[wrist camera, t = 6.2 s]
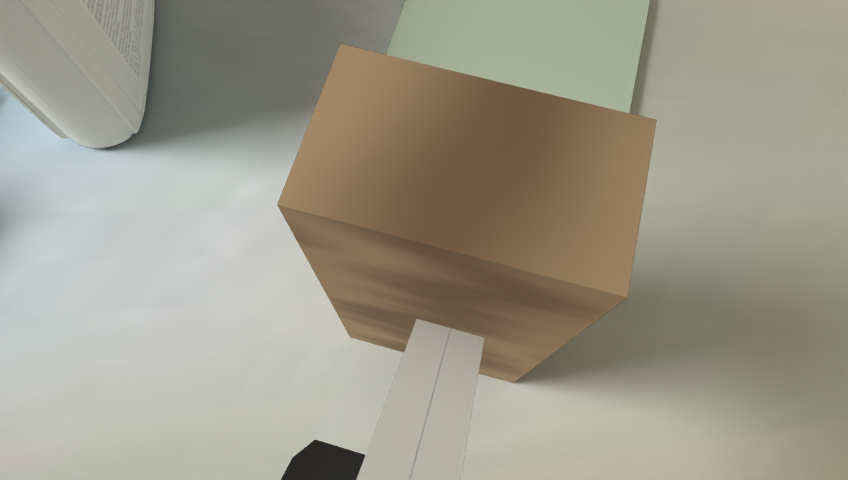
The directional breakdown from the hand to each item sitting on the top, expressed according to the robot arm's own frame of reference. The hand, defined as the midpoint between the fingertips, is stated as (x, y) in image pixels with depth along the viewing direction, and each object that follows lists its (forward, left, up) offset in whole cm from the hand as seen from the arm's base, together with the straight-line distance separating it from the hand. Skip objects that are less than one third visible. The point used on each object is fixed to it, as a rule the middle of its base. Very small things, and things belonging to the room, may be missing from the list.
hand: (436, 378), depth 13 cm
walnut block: (0, +4, -11) cm, 12 cm away
